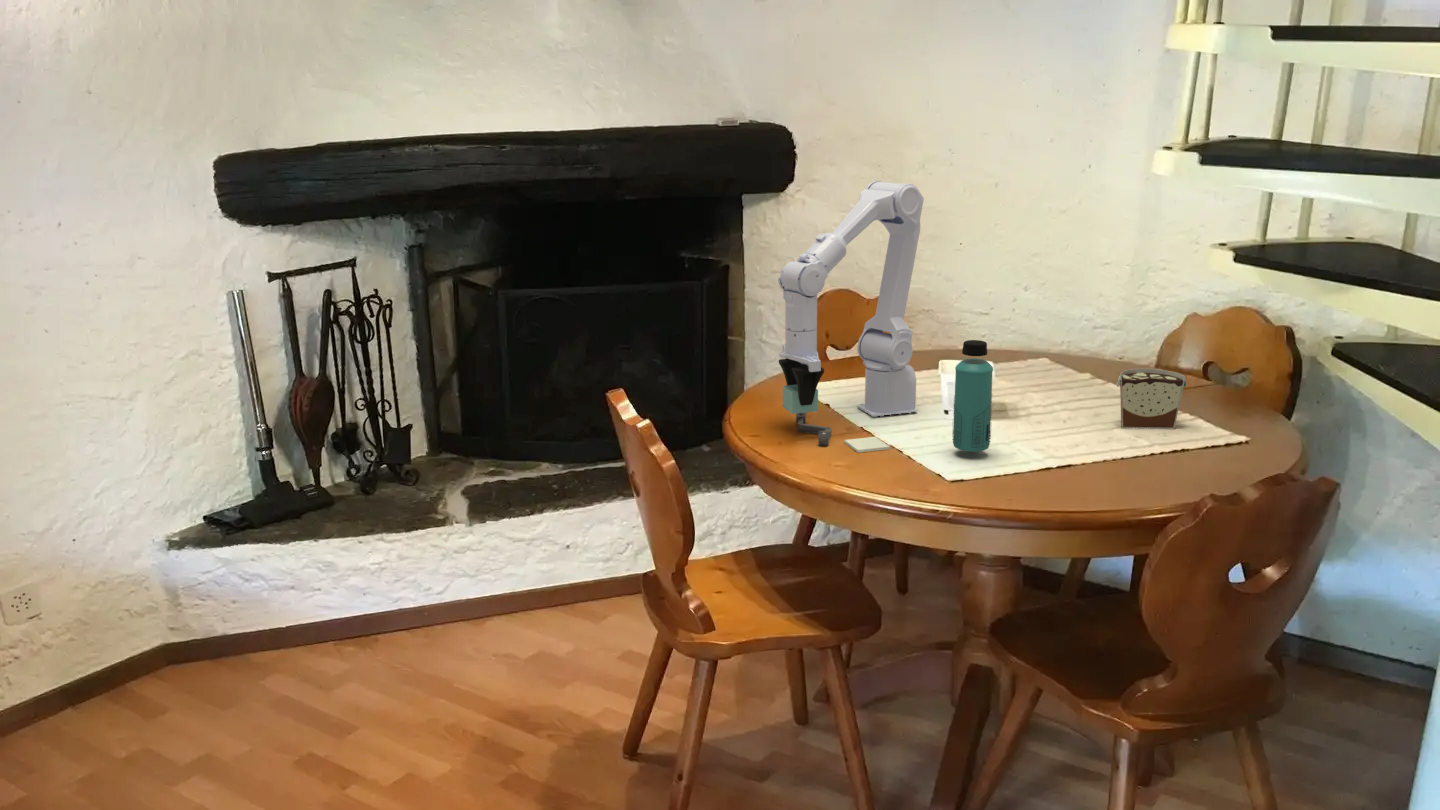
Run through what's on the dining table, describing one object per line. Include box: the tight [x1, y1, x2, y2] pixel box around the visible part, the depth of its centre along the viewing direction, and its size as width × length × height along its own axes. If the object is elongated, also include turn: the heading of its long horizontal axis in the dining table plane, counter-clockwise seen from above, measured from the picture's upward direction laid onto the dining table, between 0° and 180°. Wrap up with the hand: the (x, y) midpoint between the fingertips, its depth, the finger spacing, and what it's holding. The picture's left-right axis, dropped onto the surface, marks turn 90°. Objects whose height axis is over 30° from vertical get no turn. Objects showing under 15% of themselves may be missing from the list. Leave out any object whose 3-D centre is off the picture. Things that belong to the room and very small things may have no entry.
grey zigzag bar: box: [795, 412, 832, 448], centre depth 205 cm, size 5×16×2 cm, turn 17°
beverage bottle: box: [951, 339, 994, 452], centre depth 190 cm, size 6×7×20 cm
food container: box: [1116, 368, 1188, 430], centre depth 206 cm, size 12×6×10 cm, turn 84°
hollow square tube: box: [782, 384, 819, 415], centre depth 205 cm, size 5×5×4 cm
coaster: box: [843, 436, 890, 454], centre depth 197 cm, size 6×6×1 cm
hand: (800, 400), depth 205 cm, fingers closed on hollow square tube, 5 cm apart
